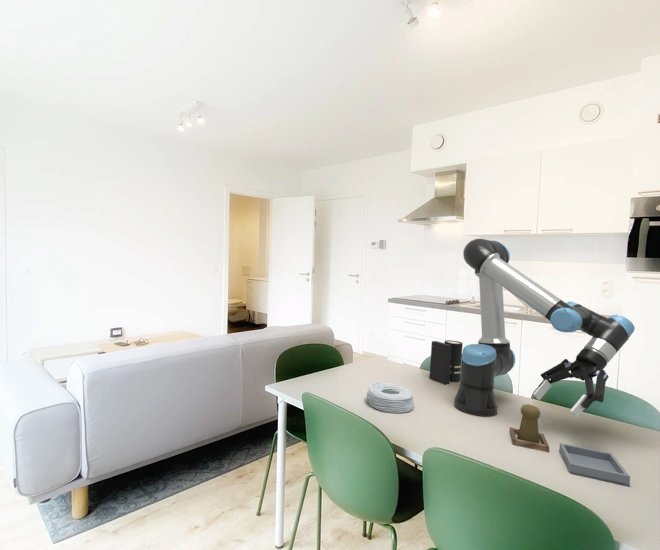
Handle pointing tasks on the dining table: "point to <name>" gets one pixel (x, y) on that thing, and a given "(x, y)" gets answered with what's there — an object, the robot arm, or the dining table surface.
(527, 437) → the cork
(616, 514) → the dining table surface
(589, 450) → the tray
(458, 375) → the light fixture
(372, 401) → the cable
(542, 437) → the socket holder
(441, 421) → the dining table surface
